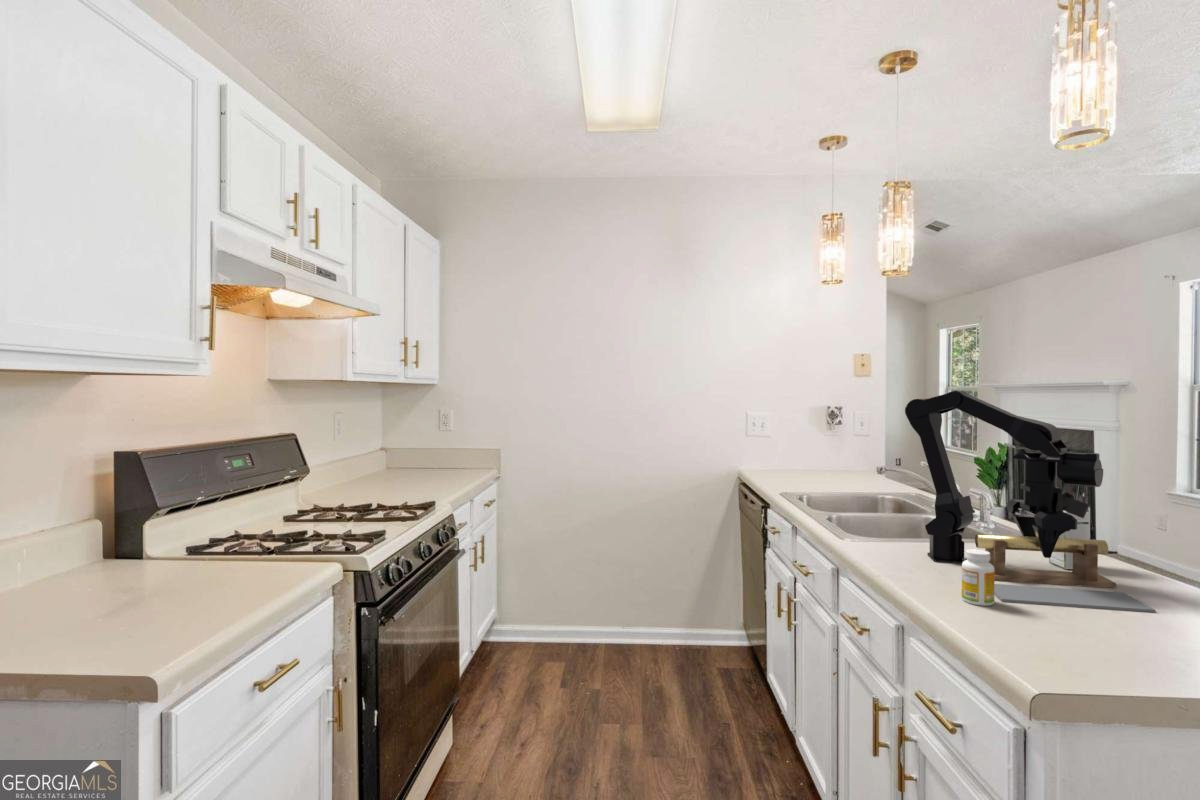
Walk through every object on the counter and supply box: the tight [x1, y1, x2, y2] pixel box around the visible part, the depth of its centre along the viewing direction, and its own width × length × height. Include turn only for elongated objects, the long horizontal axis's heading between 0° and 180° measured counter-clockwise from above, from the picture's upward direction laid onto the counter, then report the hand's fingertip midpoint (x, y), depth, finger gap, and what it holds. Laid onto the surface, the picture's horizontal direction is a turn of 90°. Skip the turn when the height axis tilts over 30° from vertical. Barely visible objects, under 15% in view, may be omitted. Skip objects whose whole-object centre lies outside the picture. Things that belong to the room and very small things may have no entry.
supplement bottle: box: [961, 548, 995, 607], centre depth 118 cm, size 5×5×10 cm
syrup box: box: [1048, 506, 1091, 570], centre depth 141 cm, size 6×6×14 cm
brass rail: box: [974, 533, 1109, 556], centre depth 132 cm, size 24×3×3 cm, turn 76°
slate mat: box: [994, 583, 1157, 613], centre depth 120 cm, size 25×10×1 cm, turn 76°
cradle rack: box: [984, 540, 1117, 588], centre depth 132 cm, size 25×7×8 cm, turn 76°
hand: (1039, 553), depth 132 cm, fingers open, 7 cm apart
